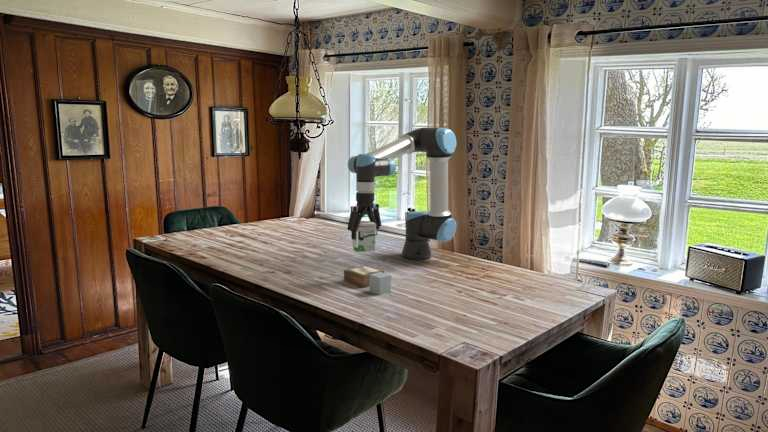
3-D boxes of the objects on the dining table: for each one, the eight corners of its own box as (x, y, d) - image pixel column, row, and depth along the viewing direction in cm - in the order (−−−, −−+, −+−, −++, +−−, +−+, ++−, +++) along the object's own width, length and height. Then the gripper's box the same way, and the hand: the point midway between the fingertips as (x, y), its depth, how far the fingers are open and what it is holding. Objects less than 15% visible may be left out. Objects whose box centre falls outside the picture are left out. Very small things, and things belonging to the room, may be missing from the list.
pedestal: (365, 276, 233) (365, 264, 232) (384, 282, 225) (384, 270, 224) (343, 281, 225) (344, 269, 224) (362, 288, 217) (362, 275, 216)
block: (380, 288, 216) (380, 271, 215) (390, 292, 212) (390, 275, 211) (369, 291, 212) (369, 274, 211) (379, 295, 208) (379, 277, 207)
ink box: (355, 252, 219) (355, 223, 217) (352, 249, 224) (353, 221, 222) (376, 251, 221) (376, 223, 219) (373, 248, 226) (373, 220, 224)
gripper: (378, 189, 229) (377, 240, 232) (338, 192, 214) (338, 247, 217) (390, 190, 223) (389, 243, 227) (350, 194, 208) (350, 250, 212)
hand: (364, 245), depth 222 cm, fingers closed on ink box, 9 cm apart
